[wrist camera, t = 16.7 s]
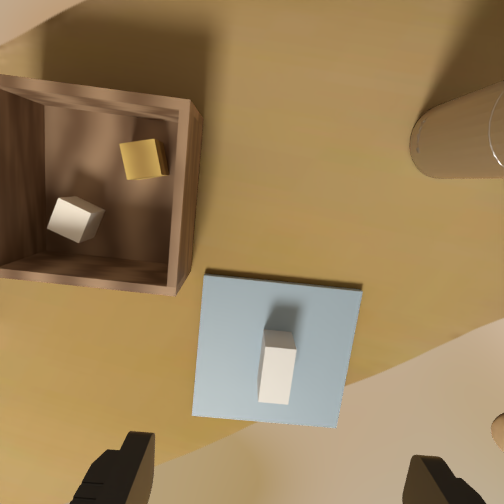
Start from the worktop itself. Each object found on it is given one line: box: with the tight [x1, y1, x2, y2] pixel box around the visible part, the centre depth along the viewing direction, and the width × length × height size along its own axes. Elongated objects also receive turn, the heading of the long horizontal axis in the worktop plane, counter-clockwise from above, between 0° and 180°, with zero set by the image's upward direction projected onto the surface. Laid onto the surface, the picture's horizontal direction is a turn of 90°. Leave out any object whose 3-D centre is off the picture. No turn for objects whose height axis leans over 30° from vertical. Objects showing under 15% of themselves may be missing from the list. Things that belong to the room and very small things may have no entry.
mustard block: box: [119, 139, 169, 180], centre depth 39 cm, size 4×4×4 cm
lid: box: [192, 274, 362, 428], centre depth 46 cm, size 22×22×7 cm
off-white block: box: [47, 196, 105, 243], centre depth 41 cm, size 4×4×4 cm
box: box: [0, 74, 204, 296], centre depth 38 cm, size 20×20×10 cm
